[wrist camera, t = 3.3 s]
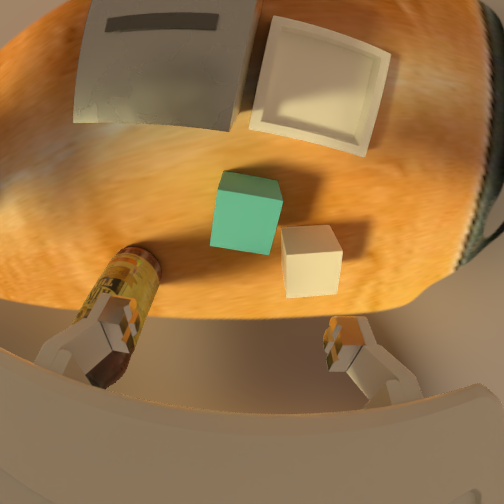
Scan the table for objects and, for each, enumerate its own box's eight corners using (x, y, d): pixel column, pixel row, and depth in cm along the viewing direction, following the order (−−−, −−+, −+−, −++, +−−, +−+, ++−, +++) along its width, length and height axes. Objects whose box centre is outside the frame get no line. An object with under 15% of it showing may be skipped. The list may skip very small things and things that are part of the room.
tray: (248, 126, 22) (248, 129, 20) (271, 22, 16) (273, 15, 14) (355, 151, 23) (364, 157, 21) (379, 56, 17) (391, 54, 15)
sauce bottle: (141, 234, 27) (55, 404, 11) (174, 276, 30) (127, 446, 14) (103, 257, 29) (24, 402, 12) (135, 293, 32) (83, 439, 15)
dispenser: (147, 104, 20) (66, 124, 10) (165, 4, 15) (102, -46, 4) (239, 113, 21) (228, 132, 11) (261, 10, 16) (271, -55, 5)
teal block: (216, 218, 27) (209, 245, 22) (223, 170, 24) (217, 189, 20) (265, 226, 27) (268, 255, 23) (277, 180, 24) (283, 201, 20)
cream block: (281, 267, 30) (286, 298, 26) (280, 226, 27) (286, 254, 23) (325, 264, 30) (337, 293, 26) (329, 224, 27) (343, 251, 23)
